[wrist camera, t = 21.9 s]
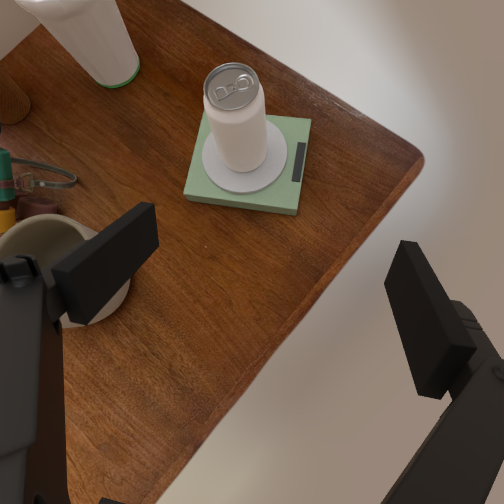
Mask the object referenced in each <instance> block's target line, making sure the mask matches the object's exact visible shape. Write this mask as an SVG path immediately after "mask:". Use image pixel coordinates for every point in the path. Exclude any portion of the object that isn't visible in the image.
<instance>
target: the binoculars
mask: <svg viewBox="0 0 504 504" xmlns="http://www.w3.org/2000/svg"><path fill="white" fill-rule="evenodd" d="M0 133H1V124H0ZM11 163H18V164H24V165H30V166H35V167H40V168H44V169H47V170H51V171H54V172H57V173H60V174H63V175H65V176H68V177H70V178H72V179H73V180H74V181H71V182H64V183H58V182H49V181H43V180H34V175H33V174H32V173H30V172H28V173H24V174H20V176H19V178H17V179H13V175H12V167H11ZM28 175H30V180H29V186H30V187H31V190H29V189H26V188H23V187H24V183H23V179H22V177H24V176H28ZM76 184H77V177H76V176H75V175H74V174H73V173H71V172H69V171H67V170H64V169H62V168H59V167H56V166H52V165H49V164H45V163H41V162H37V161H32V160H27V159H21V158H14V157H10V152H9V151H8V150H6V149H2V148H0V233H4V232H7V231H8V230H9V229H10V228H11V227H13V226H14V225H16V222H18V221H22V220H25V219H27V218H29V217H32V216H36V215H41V214H57V204H56V203H55V202H53V201H51V200H48V199H44V198H39V197H31V196H28V194H27V193H26V192H33V191H34V187H47V188H56V189H65V188H71V187H74V186H75V185H76ZM14 187H19V188H20V189H21V190H19V189H16V188H14ZM22 190H23V191H22ZM25 191H26V192H25ZM15 211H17V212H16V215H17V216H18V217H20V218H17V219H15Z"/></svg>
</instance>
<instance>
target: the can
mask: <svg viewBox="0 0 504 504" xmlns="http://www.w3.org/2000/svg"><path fill="white" fill-rule="evenodd" d="M204 107H205V110H206V114H207V117H208V120H209V123H210V126H211V129H212V132H213V135H214V138H215V141H216V144H217V147H218V150H219V153H220V155H221V158H222V160H223V162H224V164H225V165H226V166H227V167H228V168H230V169H231V170H234V171H237V172H248V171H252V170H254V169H256V168H257V167H259V166H260V165H261V164H262V163H263V161H264V160H265V157H266V154H267V136H266V118H265V101H264V92H263V88H262V86H261V84H260V82H259V79H258V76H257V74H256V73H255V71H254V70H253V69H251V68H250V67H249V66H247V65H244V64H241V63H226V64H223V65H220V66H218V67H217V68H215V69H214V70H213V71H211V72H210V74H209V75H208V76H207V78H206V80H205V83H204Z"/></svg>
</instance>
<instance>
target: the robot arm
mask: <svg viewBox="0 0 504 504" xmlns="http://www.w3.org/2000/svg"><path fill="white" fill-rule="evenodd" d="M158 247H159V240H158V231H157V223H156V214H155V206H154V203H147V202H140V203H139V204H137V205H136V206H135V207H133V208H132V209H131V210H129V211H128V212H127V213H125V214H124V215H123V216H121V217H120V218H119V219H117V220H116V221H114V222H113V223H112V224H110V225H109V226H108V227H106V228H105V229H104V230H102V231H101V232H100V233H98V234H97V235H96V236H94V237H93V238H91V239H90V240H89V239H87V240H85V241H82V242H80V243H77V244H75V245H74V246H73V247H71V248H70V249H68V251H66V252H64V253H63V254H61V256H59V257H57V258H56V259H54V260H53V261H52V262H50V263H49V264H47V265H46V266H45V267H43V268H42V269H40V268H39V265H38V263H37V260H36V258H35V256H34V255H32V254H26V253H22V254H14V255H11V256H7V257H5V258H2V259H0V504H71V502H70V499H69V495H68V489H67V466H66V435H65V405H64V374H63V344H62V323H61V321H60V317H61V316H62V315H63V314H64V313H65V312H67V315H68V318H69V321H70V322H72V323H76V324H81V325H86V326H87V325H88V324H89V323H90V322H91V320H92V319H93V318H94V317H95V316H96V315H97V314H98V313H99V312H100V311H101V309H102V308H103V307H104V306H105V305H106V304H107V303H108V302H109V301H110V300H111V298H112V297H113V296H114V295H115V294H116V293H117V292H118V291H119V290H120V289H121V287H122V286H123V285H124V284H125V283H126V282H127V281H128V280H129V279H130V278H131V276H132V275H133V274H134V273H135V272H136V271H137V270H138V269H139V268H140V267H141V265H142V264H143V263H144V262H145V261H146V260H147V259H148V258H149V257H150V256H151V254H152V253H153V252H154V251H155V250H156V249H157V248H158ZM384 285H385V289H386V292H387V295H388V298H389V302H390V305H391V308H392V311H393V315H394V318H395V321H396V325H397V328H398V331H399V334H400V338H401V341H402V344H403V348H404V351H405V354H406V357H407V361H408V364H409V367H410V371H411V374H412V377H413V380H414V384H415V387H416V390H417V393H418V395H420V396H425V397H429V398H434V399H439V400H441V399H442V397H443V396H444V394H445V393H446V392H447V390H448V391H449V393H450V396H451V398H452V402H451V403H450V404H449V406H448V407H447V409H446V410H445V411H444V412H443V414H442V415H441V416H440V419H439V420H438V422H437V423H436V425H435V426H434V427H433V429H432V430H431V432H430V433H429V435H428V436H427V438H426V439H425V440H424V442H423V443H422V445H421V446H420V448H419V449H418V450H417V452H416V453H415V455H414V456H413V458H412V459H411V461H410V462H409V463H408V465H407V466H406V468H405V469H404V471H403V472H402V473H401V475H400V476H399V478H398V479H397V481H396V482H395V484H394V485H393V487H392V488H391V489H390V491H389V492H388V494H387V495H386V497H385V498H384V499H383V501H382V502H381V504H485V501H486V499H487V497H488V495H489V492H490V490H491V488H492V485H493V483H494V481H495V479H496V476H497V474H498V472H499V469H500V467H501V464H502V462H503V460H504V360H503V359H501V357H500V356H499V354H498V353H497V351H496V349H495V348H494V346H493V345H492V343H491V341H490V340H489V338H488V337H487V335H486V334H485V332H484V331H482V330H483V329H482V327H481V326H480V324H479V323H477V320H476V318H475V316H474V315H473V313H472V312H471V310H470V309H468V308H467V307H466V306H465V305H464V304H463V303H462V302H460V301H455V300H450V299H449V297H448V296H447V294H446V292H445V290H444V289H443V287H442V285H441V283H440V282H439V280H438V278H437V276H436V275H435V273H434V271H433V269H432V268H431V266H430V264H429V262H428V261H427V259H426V257H425V255H424V254H423V252H422V250H421V248H420V247H419V245H418V243H417V242H411V241H404V240H401V241H400V244H399V247H398V249H397V251H396V254H395V257H394V259H393V262H392V264H391V267H390V269H389V272H388V274H387V277H386V279H385V282H384ZM99 504H124V503H121V502H117V501H114V500H110V499H107V498H103V497H102V498H101V500H100V502H99Z"/></svg>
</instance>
